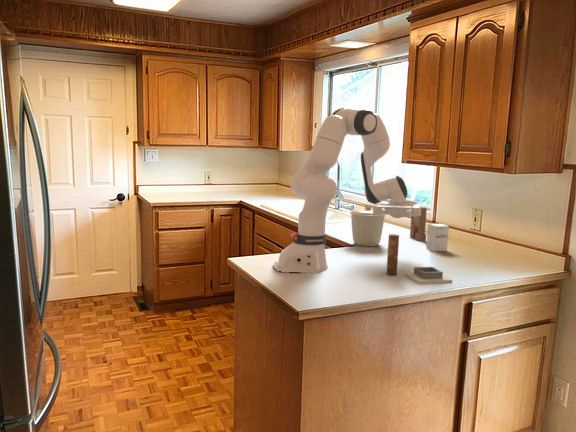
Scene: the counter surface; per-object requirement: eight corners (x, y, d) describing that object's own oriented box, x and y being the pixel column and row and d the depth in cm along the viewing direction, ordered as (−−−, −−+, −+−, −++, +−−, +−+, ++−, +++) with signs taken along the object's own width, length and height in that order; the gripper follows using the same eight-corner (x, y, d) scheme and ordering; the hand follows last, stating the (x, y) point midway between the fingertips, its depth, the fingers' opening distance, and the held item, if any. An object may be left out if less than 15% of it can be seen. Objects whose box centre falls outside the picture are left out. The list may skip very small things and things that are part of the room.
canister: (362, 239, 261) (364, 200, 258) (391, 245, 248) (393, 204, 245) (341, 243, 248) (343, 203, 245) (370, 250, 236) (372, 207, 232)
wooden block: (415, 237, 270) (417, 205, 267) (426, 241, 260) (428, 207, 257) (409, 237, 269) (411, 205, 266) (420, 241, 259) (422, 208, 256)
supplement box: (434, 252, 235) (436, 226, 233) (425, 248, 242) (427, 223, 240) (447, 251, 237) (449, 225, 235) (438, 247, 244) (440, 223, 242)
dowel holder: (417, 283, 183) (418, 274, 182) (404, 274, 194) (404, 266, 194) (452, 282, 185) (452, 273, 185) (436, 273, 197) (437, 265, 196)
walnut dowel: (388, 275, 192) (391, 236, 190) (385, 273, 196) (387, 234, 193) (398, 275, 193) (400, 236, 190) (394, 272, 197) (396, 234, 194)
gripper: (373, 199, 218) (371, 204, 205) (421, 201, 213) (421, 206, 199) (373, 213, 219) (370, 218, 206) (420, 216, 214) (420, 221, 201)
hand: (395, 212), depth 203 cm, fingers open, 8 cm apart
